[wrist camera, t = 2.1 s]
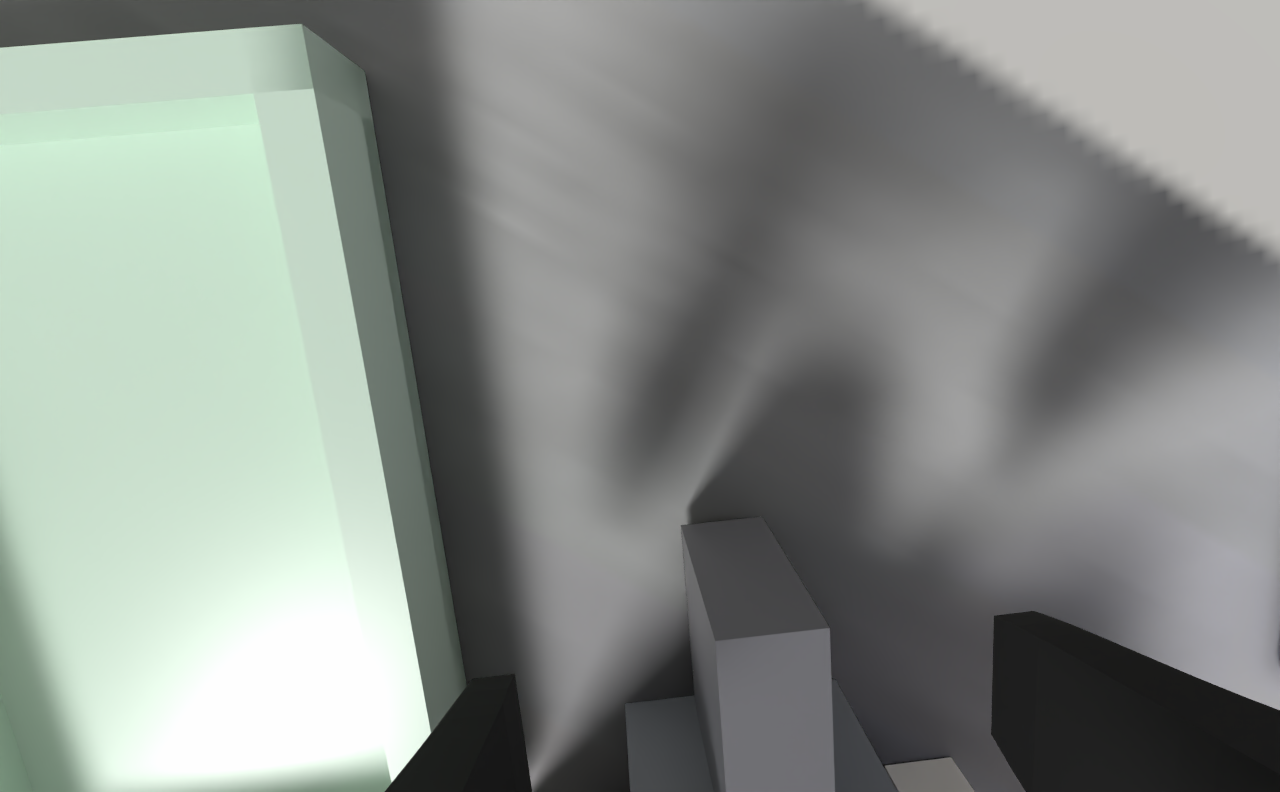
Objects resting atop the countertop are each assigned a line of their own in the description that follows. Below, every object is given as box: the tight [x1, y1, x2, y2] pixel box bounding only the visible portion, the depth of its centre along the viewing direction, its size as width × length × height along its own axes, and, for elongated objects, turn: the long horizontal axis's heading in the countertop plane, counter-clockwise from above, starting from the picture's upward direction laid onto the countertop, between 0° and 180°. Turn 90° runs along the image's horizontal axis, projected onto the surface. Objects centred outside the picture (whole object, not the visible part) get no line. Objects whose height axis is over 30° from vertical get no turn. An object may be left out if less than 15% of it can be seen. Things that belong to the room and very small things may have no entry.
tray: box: [0, 24, 467, 792], centre depth 12 cm, size 9×15×2 cm, turn 5°
